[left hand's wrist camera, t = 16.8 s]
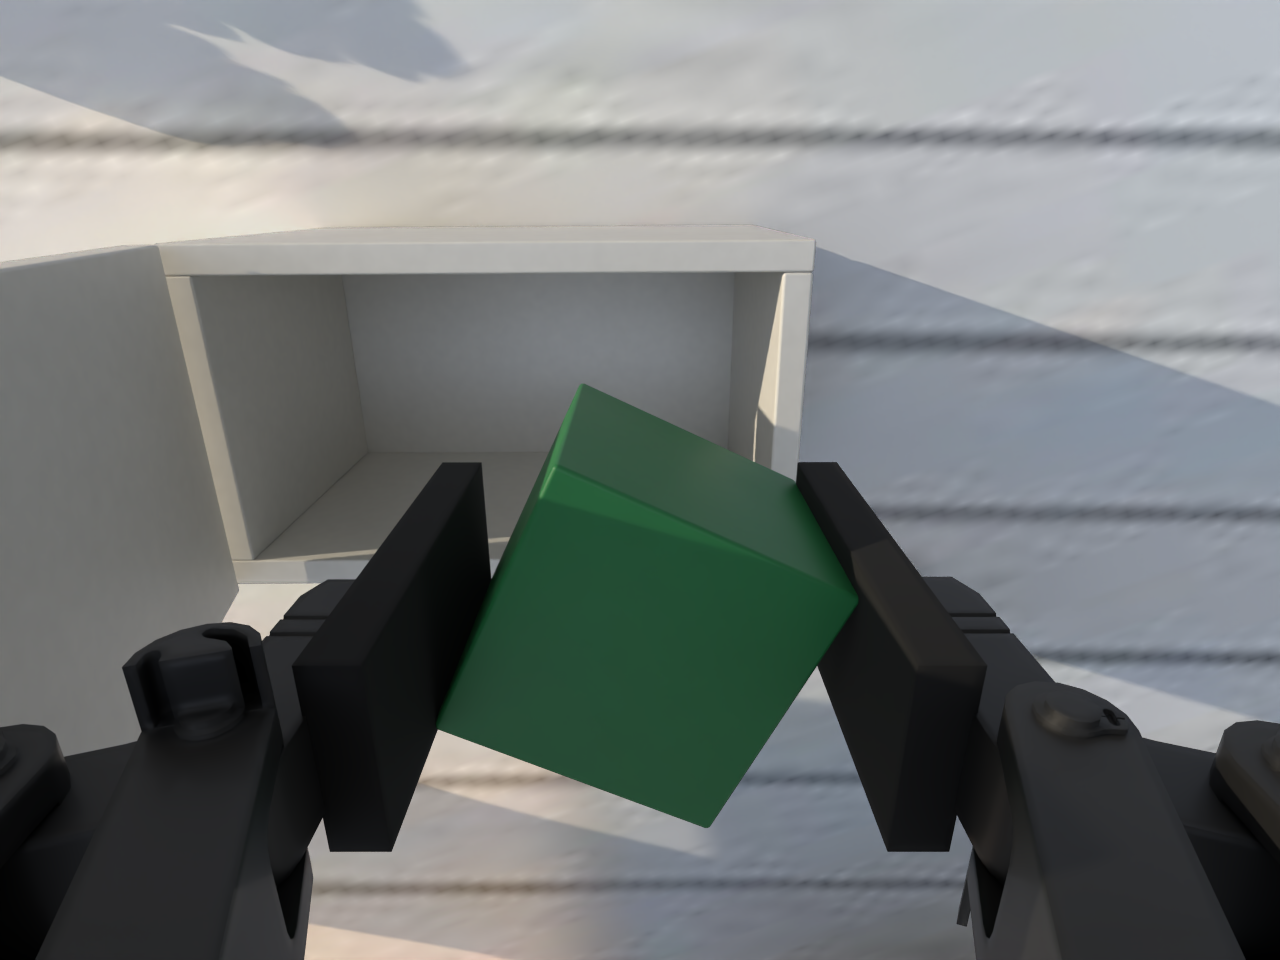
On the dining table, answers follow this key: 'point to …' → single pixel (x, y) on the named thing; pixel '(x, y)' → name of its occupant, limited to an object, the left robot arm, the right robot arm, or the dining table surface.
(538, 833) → the dining table surface
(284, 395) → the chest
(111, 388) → the lid
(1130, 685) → the dining table surface
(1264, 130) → the dining table surface
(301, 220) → the dining table surface
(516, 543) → the block
